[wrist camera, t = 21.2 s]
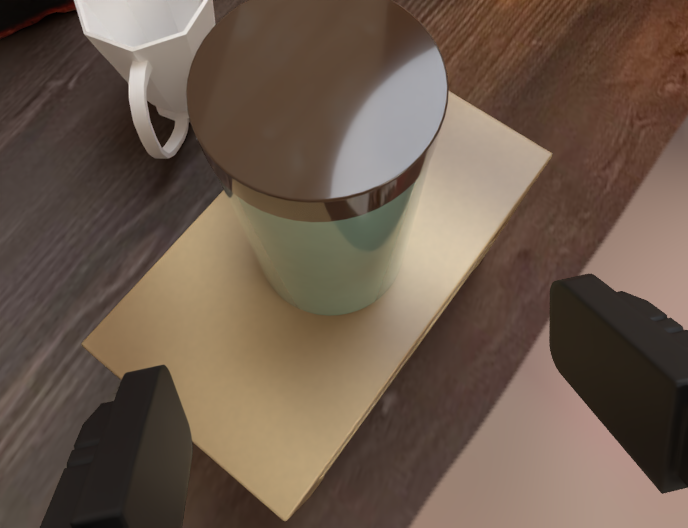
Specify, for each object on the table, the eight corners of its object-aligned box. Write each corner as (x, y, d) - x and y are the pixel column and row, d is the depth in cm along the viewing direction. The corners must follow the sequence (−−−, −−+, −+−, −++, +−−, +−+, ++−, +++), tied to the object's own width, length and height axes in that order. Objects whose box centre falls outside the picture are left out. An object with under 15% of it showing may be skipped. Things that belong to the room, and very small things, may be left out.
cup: (245, 49, 36) (217, -60, 28) (233, 185, 33) (198, 103, 25) (139, 49, 36) (83, -60, 28) (117, 184, 33) (46, 103, 25)
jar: (310, 155, 21) (283, -54, 12) (432, 223, 20) (495, 48, 11) (227, 267, 19) (130, 118, 11) (354, 347, 18) (359, 252, 10)
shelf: (359, 169, 33) (363, 38, 22) (485, 254, 31) (554, 153, 21) (176, 384, 29) (79, 344, 18) (310, 496, 27) (285, 523, 16)
